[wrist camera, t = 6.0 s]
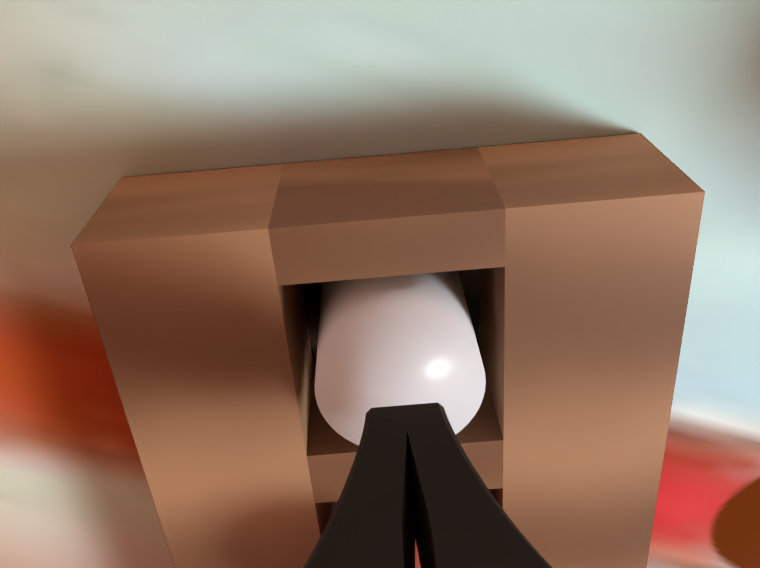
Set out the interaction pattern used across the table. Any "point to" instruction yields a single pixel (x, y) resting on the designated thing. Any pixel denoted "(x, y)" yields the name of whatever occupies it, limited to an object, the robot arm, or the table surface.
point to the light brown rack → (394, 258)
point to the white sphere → (396, 349)
